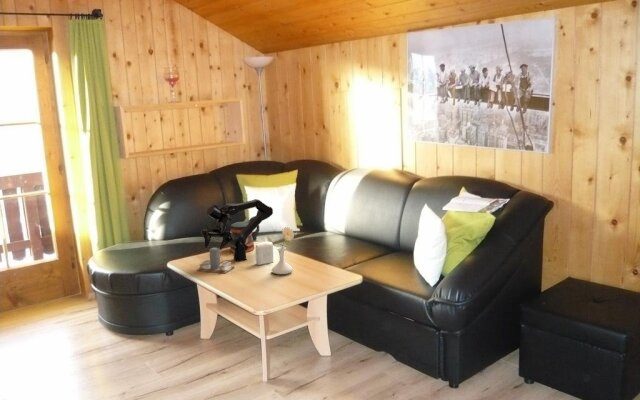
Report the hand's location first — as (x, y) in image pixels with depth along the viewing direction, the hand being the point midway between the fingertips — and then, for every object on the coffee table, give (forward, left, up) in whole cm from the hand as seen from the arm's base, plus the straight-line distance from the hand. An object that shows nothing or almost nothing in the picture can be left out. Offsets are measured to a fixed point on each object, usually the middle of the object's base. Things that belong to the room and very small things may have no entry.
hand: (212, 248), depth 324 cm
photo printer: (-29, -2, -13) cm, 32 cm away
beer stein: (-24, -35, -13) cm, 44 cm away
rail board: (-1, -1, -13) cm, 13 cm away
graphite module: (-1, -1, -12) cm, 12 cm away
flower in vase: (-35, +18, -13) cm, 41 cm away
